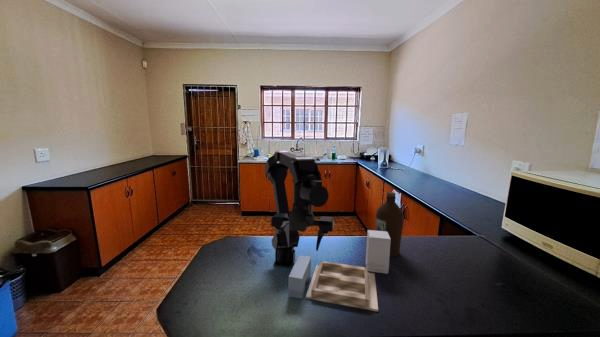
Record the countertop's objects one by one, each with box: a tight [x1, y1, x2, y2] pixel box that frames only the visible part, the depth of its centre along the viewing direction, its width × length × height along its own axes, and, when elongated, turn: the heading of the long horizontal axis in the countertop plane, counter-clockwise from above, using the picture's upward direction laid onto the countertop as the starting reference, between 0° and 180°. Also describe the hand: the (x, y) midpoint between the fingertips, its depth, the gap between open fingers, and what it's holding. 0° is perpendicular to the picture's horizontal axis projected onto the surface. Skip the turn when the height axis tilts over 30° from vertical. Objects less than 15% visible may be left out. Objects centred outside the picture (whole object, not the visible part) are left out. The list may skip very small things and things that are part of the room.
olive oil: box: [375, 191, 405, 258], centre depth 98 cm, size 11×11×25 cm
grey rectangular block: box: [287, 255, 312, 300], centre depth 75 cm, size 4×13×6 cm, turn 166°
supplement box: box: [365, 229, 391, 275], centre depth 86 cm, size 7×7×13 cm
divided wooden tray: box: [305, 260, 379, 312], centre depth 76 cm, size 20×18×3 cm
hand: (302, 248), depth 74 cm, fingers open, 9 cm apart
